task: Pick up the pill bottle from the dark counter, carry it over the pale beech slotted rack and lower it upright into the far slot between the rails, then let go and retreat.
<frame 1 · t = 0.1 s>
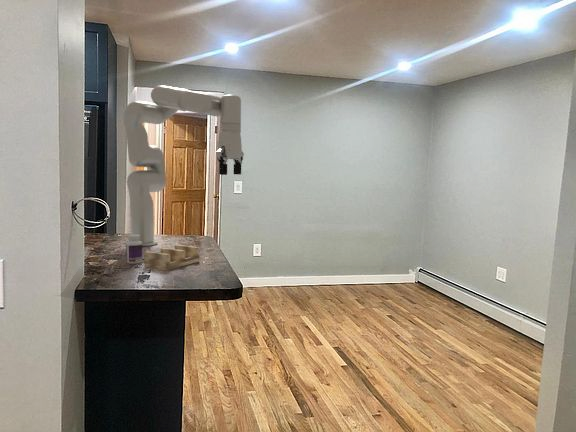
hand: (230, 174, 176), 31 cm above the countertop, fingers open, 9 cm apart
rack: (172, 264, 162), on the countertop
pill bottle: (134, 263, 163), on the countertop
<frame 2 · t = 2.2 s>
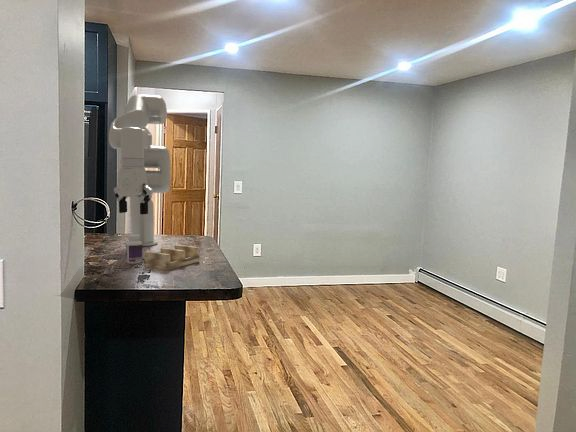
hand: (133, 213, 161), 17 cm above the countertop, fingers open, 9 cm apart
nothing on the countertop moved.
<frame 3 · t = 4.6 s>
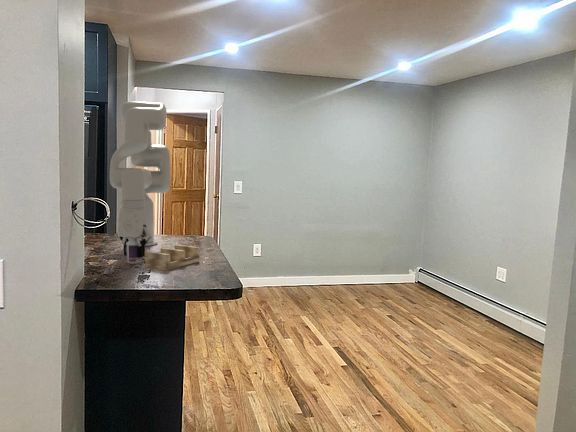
hand: (134, 255, 163), 3 cm above the countertop, fingers closed on pill bottle, 5 cm apart
pill bottle: (134, 263, 163), on the countertop, touching gripper
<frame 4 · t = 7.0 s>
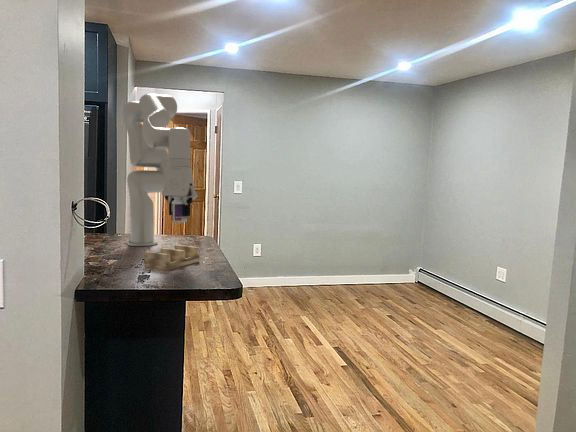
hand: (179, 214, 164), 17 cm above the countertop, fingers closed on pill bottle, 5 cm apart
pill bottle: (179, 222, 164), point 14 cm above the countertop, touching gripper
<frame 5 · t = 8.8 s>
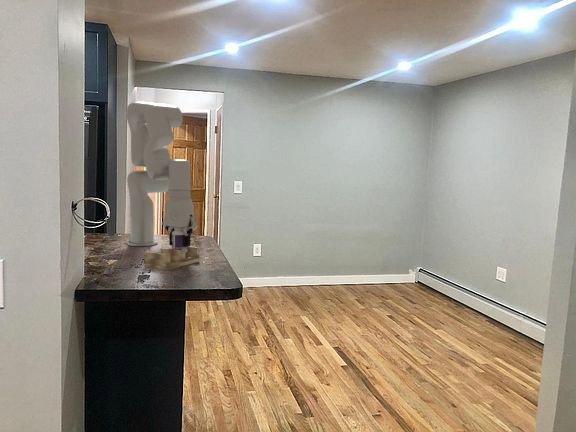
hand: (179, 245, 165), 6 cm above the countertop, fingers closed on pill bottle, 5 cm apart
pill bottle: (179, 252, 165), point 3 cm above the countertop, touching gripper
when the fingers open (5 cm above the countertop, at t = 9.9 s): pill bottle drops 1 cm, resting on rack.
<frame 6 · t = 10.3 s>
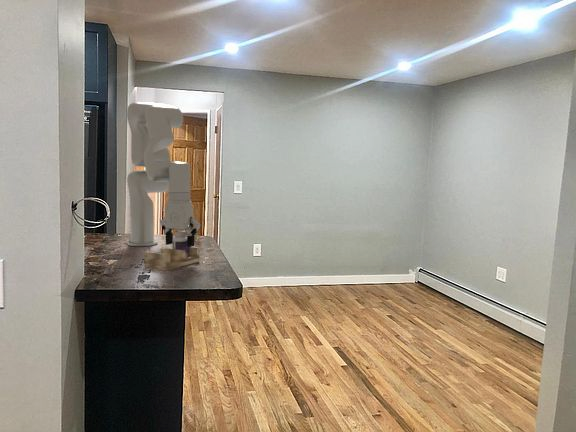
hand: (179, 245, 165), 6 cm above the countertop, fingers open, 9 cm apart
pill bottle: (180, 259, 165), point 1 cm above the countertop, touching rack
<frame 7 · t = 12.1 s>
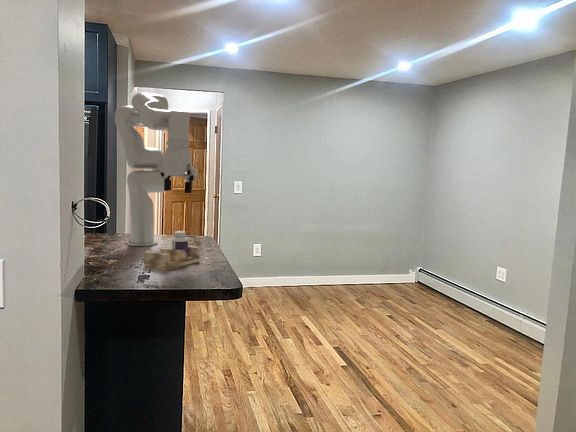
hand: (177, 191, 172), 25 cm above the countertop, fingers open, 9 cm apart
nothing on the countertop moved.
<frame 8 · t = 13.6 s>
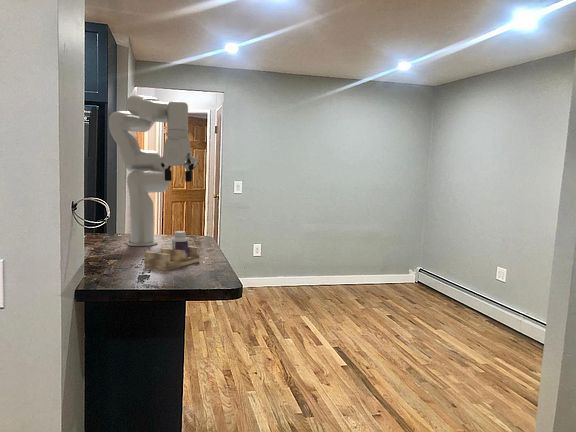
hand: (178, 181, 175), 28 cm above the countertop, fingers open, 9 cm apart
nothing on the countertop moved.
at the end: pill bottle inside the target area on the rack (0.1 cm from its centre), point 1.0 cm above the rack's base; pill bottle tilted 0°; the gripper is holding nothing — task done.
